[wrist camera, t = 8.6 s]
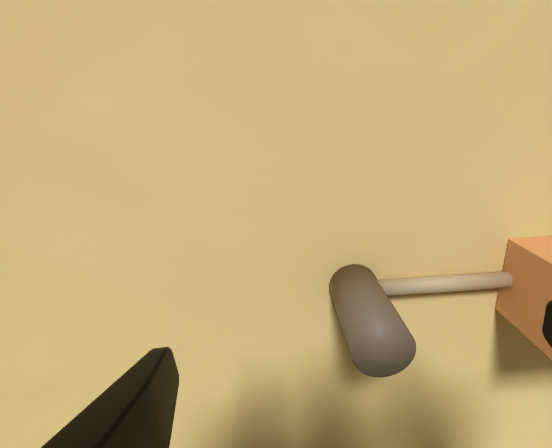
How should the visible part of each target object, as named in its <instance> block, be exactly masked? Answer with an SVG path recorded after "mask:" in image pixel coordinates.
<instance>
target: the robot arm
mask: <svg viewBox="0 0 552 448" xmlns="http://www.w3.org/2000/svg"><path fill="white" fill-rule="evenodd" d="M542 333H543V336H544V338H545V340H546V341H547V342H548V344H549V345H550V346H551V348H552V300H550V301H549V302H548V303H547V305H546V309H545V314H544V320H543V325H542ZM178 386H179V373H178V370H177V366H176V363H175V359H174V356H173V352H172V350H171V349H170V348H169V347H162V348H154V349H152V350H150V351H149V352H148V353H147V354H146V355H145V356H144V357H142V358H141V359H140V360H139V361H138V362H137V363H136V364H135V365H133V366H132V367H131V368H130V369H129V370H128V371H127V372H126V373H124V374H123V375H122V376H121V377H120V378H119V379H118V380H117V381H115V382H114V383H113V384H112V385H111V386H110V387H109V388H108V389H106V390H105V391H104V392H103V393H102V394H101V395H100V396H99V397H97V398H96V399H95V400H94V401H93V402H92V403H91V404H90V405H88V406H87V407H86V408H85V409H84V410H83V411H82V412H81V413H79V414H78V415H77V416H76V417H75V418H74V419H73V420H72V421H70V422H69V423H68V424H67V425H66V426H65V427H64V428H63V429H61V430H60V431H59V432H58V433H57V434H56V435H55V436H53V437H52V438H51V439H50V440H49V441H48V442H47V443H46V444H44V445H43V446H42V447H41V448H169V445H170V439H171V433H172V426H173V419H174V413H175V406H176V399H177V393H178Z"/></svg>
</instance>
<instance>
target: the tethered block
mask: <svg viewBox="0 0 552 448" xmlns="http://www.w3.org/2000/svg"><path fill="white" fill-rule="evenodd" d="M495 288H499V292H498V298H497V303H496V308H495V309H496V310H497V311H498V312H499V313H500V314H501V315H503V316H504V317H505V318H506V319H507V320H508V321H509V322H510V323H511V324H512V325H514V326H515V327H516V328H517V329H518V330H519V331H520V332H521V333H522V334H523V335H524V336H526V337H527V338H528V339H529V340H530V341H531V342H532V343H533V344H534V345H535V346H537V347H538V348H539V349H540V350H541V351H542V352H543V353H544V354H545V355H546V356H548V357H549V358H550V359H551V360H552V348H551V346H550V345H549V344H548V342H547V341H546V340H545V338H544V336H543V333H542V325H543V320H544V314H545V309H546V305H547V303H548V302H549V301H550V300H552V236H549V237H535V238H520V239H509V241H508V246H507V252H506V257H505V262H504V267H503V272H488V273H473V274H458V275H444V276H429V277H414V278H400V279H385V280H377V278H376V277H375V275H374V274H373V272H372V271H371V270H370V269H369V268H367V267H365V266H363V265H357V264H352V265H347V266H344V267H342V268H341V269H339V270H338V271H337V272H335V274H334V275H333V276H332V278H331V280H330V284H329V291H330V294H331V297H332V300H333V303H334V306H335V309H336V312H337V315H338V318H339V321H340V324H341V327H342V330H343V333H344V336H345V339H346V342H347V345H348V348H349V351H350V354H351V357H352V360H353V362H354V365H355V366H356V368H357V369H358V370H359V371H361V372H362V373H364V374H366V375H368V376H372V377H387V376H391V375H394V374H397V373H399V372H401V371H402V370H404V369H405V368H406V367H407V366H408V365H409V364H410V363H411V361H412V360H413V358H414V356H415V352H416V343H415V340H414V338H413V336H412V335H411V333H410V331H409V330H408V328H407V327H406V325H405V323H404V322H403V320H402V319H401V317H400V315H399V314H398V312H397V311H396V309H395V307H394V306H393V304H392V302H391V301H390V299H389V298H388V296H393V295H407V294H422V293H437V292H451V291H466V290H480V289H495Z"/></svg>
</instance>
